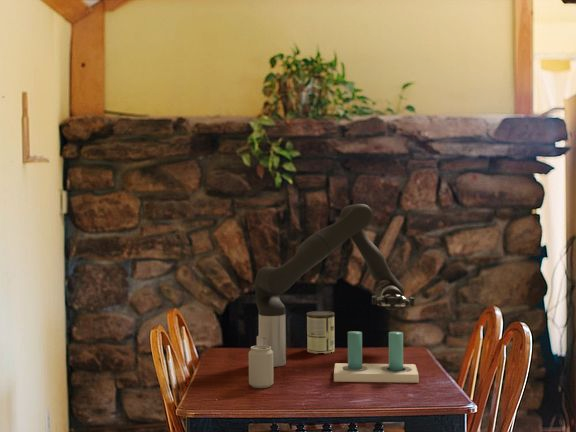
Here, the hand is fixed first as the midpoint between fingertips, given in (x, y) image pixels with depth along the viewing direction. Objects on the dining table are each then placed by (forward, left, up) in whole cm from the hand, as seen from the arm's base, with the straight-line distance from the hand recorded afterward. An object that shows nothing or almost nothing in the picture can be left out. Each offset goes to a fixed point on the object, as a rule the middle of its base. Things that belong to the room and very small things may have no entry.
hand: (393, 303), depth 254 cm
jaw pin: (-5, -9, -22) cm, 24 cm away
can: (-48, 0, -22) cm, 53 cm away
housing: (-11, -6, -22) cm, 25 cm away
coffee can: (-8, +37, -22) cm, 44 cm away
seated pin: (-17, -3, -22) cm, 28 cm away
